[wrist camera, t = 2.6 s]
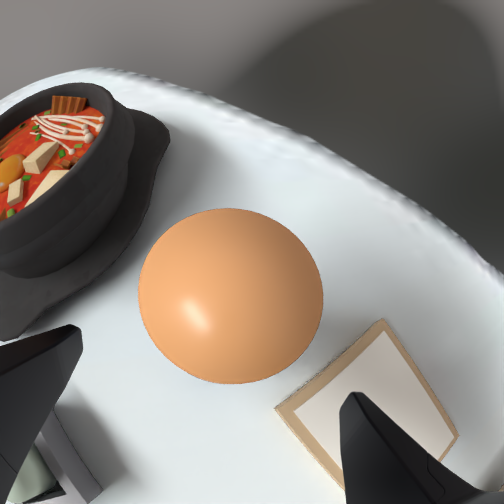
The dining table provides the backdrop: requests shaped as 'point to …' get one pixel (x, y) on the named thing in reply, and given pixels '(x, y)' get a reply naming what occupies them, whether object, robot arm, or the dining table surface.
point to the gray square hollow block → (64, 467)
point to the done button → (32, 478)
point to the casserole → (69, 194)
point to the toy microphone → (230, 296)
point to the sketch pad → (376, 389)
